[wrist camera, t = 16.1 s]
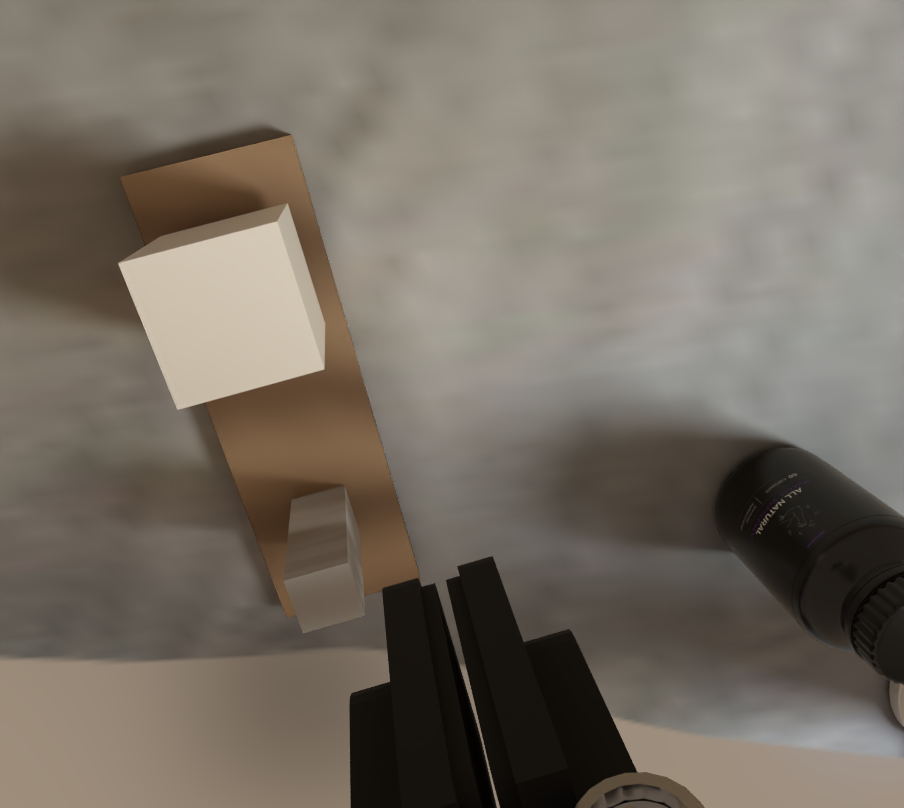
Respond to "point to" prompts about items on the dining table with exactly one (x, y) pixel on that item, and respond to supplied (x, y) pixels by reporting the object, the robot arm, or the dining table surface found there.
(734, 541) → the supplement bottle
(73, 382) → the dining table surface
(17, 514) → the dining table surface
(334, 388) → the post strip
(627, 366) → the dining table surface
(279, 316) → the cream rectangular block
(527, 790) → the robot arm
